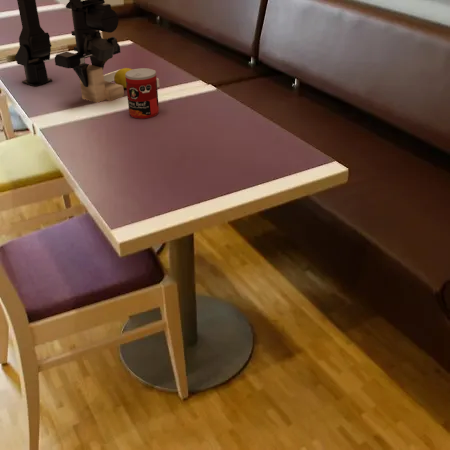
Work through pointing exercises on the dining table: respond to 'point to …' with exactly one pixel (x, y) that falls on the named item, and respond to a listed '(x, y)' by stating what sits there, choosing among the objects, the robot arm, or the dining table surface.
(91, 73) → the stepped wooden corner piece
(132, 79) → the canned food
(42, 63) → the robot arm
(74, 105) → the dining table surface
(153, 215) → the dining table surface
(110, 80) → the corral
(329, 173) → the dining table surface
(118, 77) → the lemon
